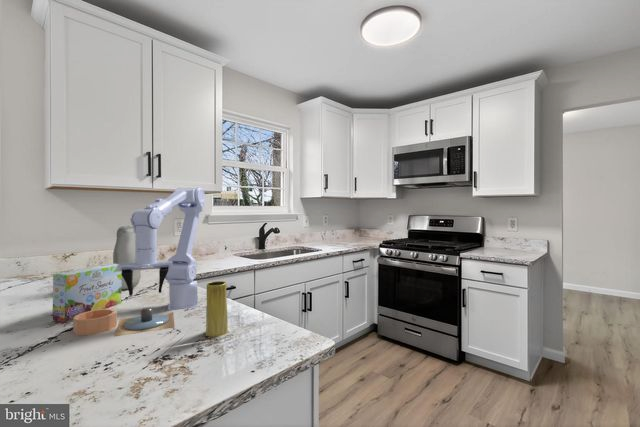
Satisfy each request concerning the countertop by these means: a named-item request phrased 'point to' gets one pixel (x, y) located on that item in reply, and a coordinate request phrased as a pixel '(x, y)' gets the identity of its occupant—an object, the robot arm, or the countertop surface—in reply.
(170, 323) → the oak board
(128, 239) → the grey bottle
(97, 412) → the countertop surface
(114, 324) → the terracotta pot
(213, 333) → the vase
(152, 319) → the lid
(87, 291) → the snack box
